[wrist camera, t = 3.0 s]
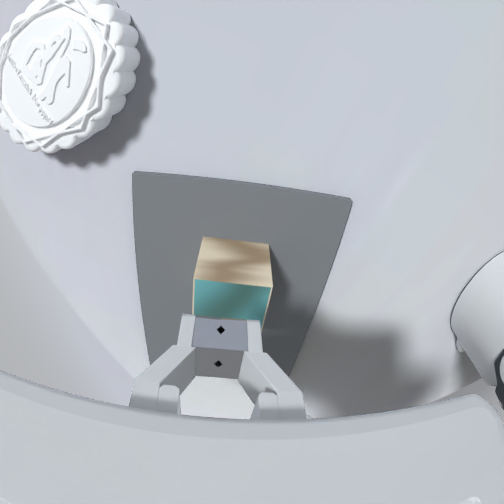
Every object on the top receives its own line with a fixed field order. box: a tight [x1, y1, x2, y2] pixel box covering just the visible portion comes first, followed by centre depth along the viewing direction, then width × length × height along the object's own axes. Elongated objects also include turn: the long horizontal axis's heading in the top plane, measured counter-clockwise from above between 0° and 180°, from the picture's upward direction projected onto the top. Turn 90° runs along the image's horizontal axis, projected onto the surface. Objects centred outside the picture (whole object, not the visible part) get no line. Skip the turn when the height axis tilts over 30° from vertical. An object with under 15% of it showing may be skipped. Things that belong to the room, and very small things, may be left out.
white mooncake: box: [0, 0, 140, 154], centre depth 14 cm, size 12×12×4 cm
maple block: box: [192, 236, 273, 332], centre depth 23 cm, size 5×5×5 cm
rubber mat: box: [132, 171, 353, 376], centre depth 27 cm, size 16×23×1 cm
